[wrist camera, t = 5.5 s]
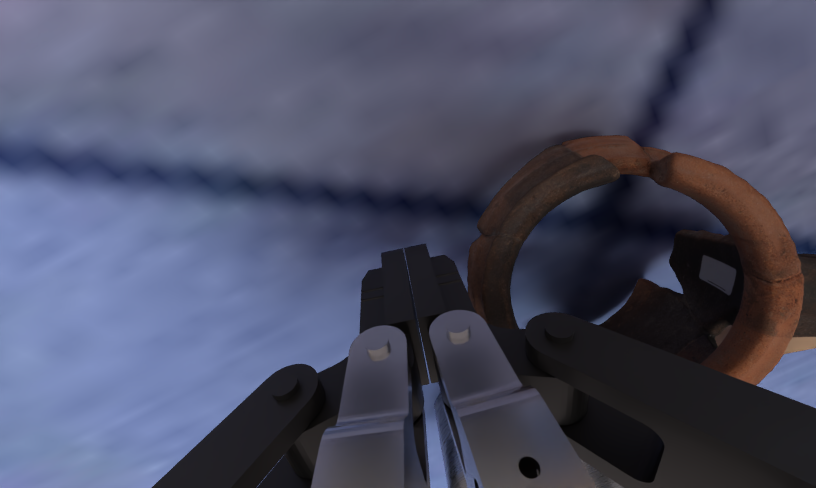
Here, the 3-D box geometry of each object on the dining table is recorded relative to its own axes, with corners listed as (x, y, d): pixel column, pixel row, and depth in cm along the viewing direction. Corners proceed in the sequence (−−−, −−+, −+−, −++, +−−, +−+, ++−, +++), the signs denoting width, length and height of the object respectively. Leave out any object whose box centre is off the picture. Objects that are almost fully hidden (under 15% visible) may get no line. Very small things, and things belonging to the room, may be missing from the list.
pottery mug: (482, 354, 18) (471, 463, 10) (462, 175, 17) (435, 135, 9) (762, 349, 15) (1083, 502, 7) (745, 132, 14) (1060, 18, 6)
